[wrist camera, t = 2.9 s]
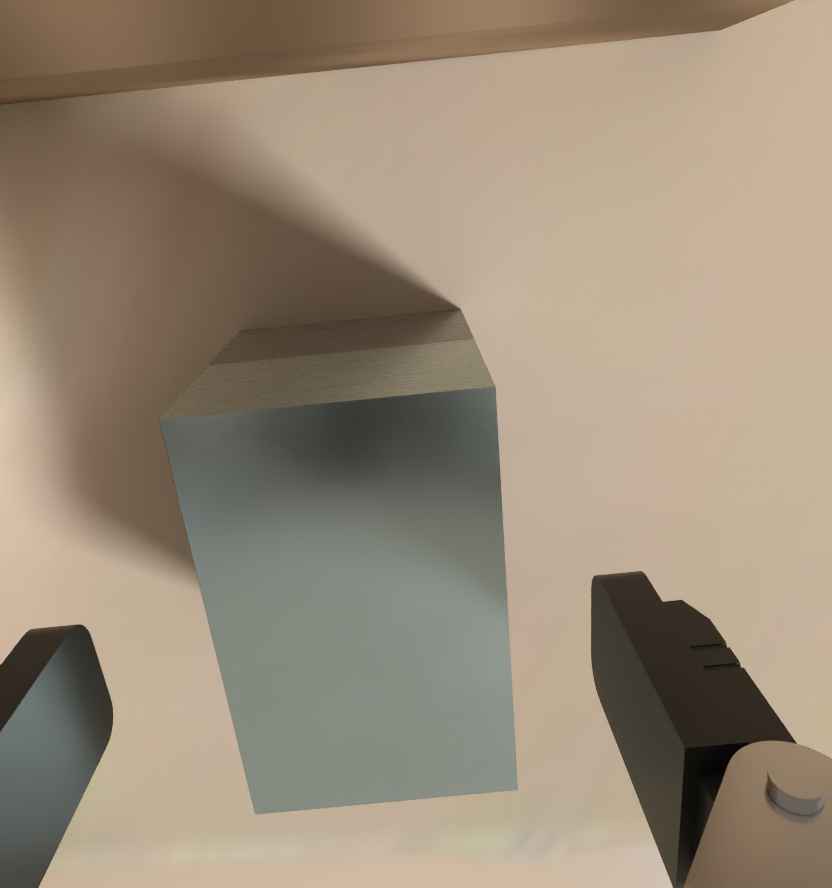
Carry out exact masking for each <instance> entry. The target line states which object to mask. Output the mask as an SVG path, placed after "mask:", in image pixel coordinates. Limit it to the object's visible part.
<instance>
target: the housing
mask: <svg viewBox="0 0 832 888" xmlns="http://www.w3.org/2000/svg"><path fill="white" fill-rule="evenodd" d="M159 422H160V426H161V430H162V434H163V438H164V442H165V446H166V451H167V455H168V459H169V463H170V467H171V471H172V475H173V479H174V483H175V487H176V492H177V496H178V500H179V504H180V508H181V512H182V516H183V520H184V524H185V528H186V533H187V537H188V541H189V545H190V549H191V553H192V557H193V561H194V565H195V569H196V574H197V578H198V582H199V586H200V590H201V594H202V598H203V602H204V606H205V610H206V615H207V619H208V623H209V627H210V631H211V635H212V639H213V643H214V647H215V652H216V656H217V660H218V664H219V668H220V672H221V676H222V680H223V684H224V688H225V693H226V697H227V701H228V705H229V709H230V713H231V717H232V721H233V725H234V729H235V734H236V738H237V742H238V746H239V750H240V754H241V758H242V762H243V766H244V770H245V775H246V779H247V783H248V787H249V791H250V795H251V799H252V803H253V807H254V811H255V814H265V813H276V812H287V811H297V810H308V809H319V808H329V807H340V806H351V805H361V804H372V803H383V802H393V801H404V800H415V799H425V798H436V797H447V796H458V795H468V794H479V793H490V792H500V791H511V790H518V787H517V769H516V750H515V732H514V714H513V696H512V678H511V660H510V642H509V624H508V606H507V588H506V570H505V552H504V534H503V516H502V497H501V479H500V461H499V443H498V425H497V407H496V389H495V384H494V382H493V380H492V378H491V376H490V373H489V371H488V369H487V367H486V364H485V362H484V360H483V358H482V355H481V353H480V351H479V349H478V347H477V344H476V342H475V340H474V338H473V335H472V333H471V331H470V329H469V326H468V324H467V322H466V320H465V317H464V315H463V313H462V311H461V309H458V310H448V311H438V312H428V313H418V314H408V315H398V316H388V317H378V318H368V319H358V320H348V321H338V322H328V323H318V324H307V325H297V326H287V327H277V328H267V329H257V330H247V331H240V332H239V333H238V334H237V335H236V336H235V337H234V338H233V339H232V340H231V342H230V343H229V344H228V345H227V346H226V347H225V348H224V349H223V350H222V351H221V352H220V354H219V355H218V356H217V357H216V358H215V359H214V360H213V361H212V362H211V363H210V364H209V366H208V367H207V368H206V369H205V370H204V371H203V372H202V373H201V374H200V375H199V376H198V378H197V379H196V380H195V381H194V382H193V383H192V384H191V385H190V386H189V387H188V388H187V390H186V391H185V392H184V393H183V394H182V395H181V396H180V397H179V398H178V399H177V401H176V402H175V403H174V404H173V405H172V406H171V407H170V408H169V409H168V410H167V411H166V413H165V414H164V415H163V416H162V417H161V418H160V419H159Z"/></svg>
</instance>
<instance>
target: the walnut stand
mask: <svg viewBox="0 0 832 888" xmlns="http://www.w3.org/2000/svg"><path fill="white" fill-rule="evenodd" d="M791 1H794V0H0V104H10V103H19V102H29V101H39V100H48V99H58V98H68V97H77V96H87V95H97V94H106V93H116V92H126V91H135V90H145V89H155V88H164V87H174V86H184V85H193V84H203V83H213V82H222V81H232V80H242V79H251V78H261V77H271V76H281V75H290V74H300V73H310V72H319V71H329V70H339V69H348V68H358V67H368V66H377V65H387V64H397V63H406V62H416V61H426V60H435V59H445V58H455V57H464V56H474V55H484V54H493V53H503V52H513V51H522V50H532V49H542V48H551V47H561V46H571V45H580V44H590V43H600V42H609V41H619V40H629V39H638V38H648V37H658V36H668V35H677V34H687V33H697V32H706V31H716V30H722V29H724V28H727V27H729V26H732V25H734V24H737V23H739V22H742V21H744V20H747V19H749V18H752V17H754V16H757V15H759V14H761V13H764V12H766V11H769V10H771V9H774V8H776V7H779V6H781V5H784V4H786V3H789V2H791Z"/></svg>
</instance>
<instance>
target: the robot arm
mask: <svg viewBox="0 0 832 888" xmlns="http://www.w3.org/2000/svg"><path fill="white" fill-rule="evenodd" d="M591 659H592V669H593V676H594V681H595V686H596V690H597V693H598V696H599V699H600V702H601V704H602V707H603V709H604V712H605V714H606V717H607V720H608V722H609V725H610V727H611V730H612V732H613V735H614V737H615V740H616V743H617V745H618V748H619V750H620V753H621V755H622V758H623V760H624V763H625V766H626V768H627V771H628V773H629V776H630V778H631V781H632V783H633V786H634V789H635V791H636V794H637V796H638V799H639V801H640V804H641V806H642V809H643V812H644V814H645V817H646V819H647V822H648V824H649V827H650V829H651V832H652V834H653V837H654V840H655V842H656V845H657V847H658V850H659V852H660V855H661V857H662V860H663V863H664V865H665V868H666V870H667V873H668V875H669V878H670V880H671V883H672V886H673V888H832V759H831V758H829V757H828V756H826V755H824V754H822V753H820V752H818V751H816V750H813V749H811V748H808V747H806V746H802V745H799V744H797V743H796V742H795V740H794V739H793V737H792V736H791V734H790V733H789V732H788V730H787V729H786V727H785V726H784V724H783V723H782V722H781V720H780V719H779V717H778V716H777V715H776V713H775V712H774V710H773V709H772V707H771V706H770V705H769V703H768V702H767V700H766V699H765V697H764V696H763V695H762V693H761V692H760V690H759V689H758V687H757V686H756V685H755V683H754V682H753V680H752V679H751V677H750V676H749V675H748V673H747V672H746V670H745V669H744V668H741V666H740V662H739V660H738V659H737V657H736V656H735V655H734V653H733V652H732V650H731V649H730V647H729V648H727V646H726V642H725V640H724V639H723V637H722V636H721V635H720V633H719V632H718V630H717V629H716V628H715V626H714V625H713V623H712V622H711V620H710V619H709V618H707V617H706V616H704V615H703V614H702V613H700V612H699V611H697V610H696V609H694V608H693V607H691V606H690V605H688V604H687V603H685V602H684V601H683V600H677V601H666V602H662V600H661V599H660V597H659V596H658V594H657V592H656V591H655V589H654V588H653V586H652V584H651V583H650V581H649V580H648V578H647V576H646V575H645V574H644V573H643V572H642V571H638V572H628V573H617V574H607V575H597V576H594V577H593V580H592V587H591ZM112 725H113V707H112V702H111V698H110V695H109V692H108V688H107V685H106V682H105V679H104V676H103V673H102V670H101V666H100V663H99V660H98V657H97V654H96V651H95V647H94V644H93V641H92V638H91V635H90V633H89V631H88V630H87V628H86V627H85V626H83V625H69V626H58V627H48V628H38V629H31V630H29V631H28V632H26V633H25V635H24V636H23V637H22V638H21V640H20V641H19V642H18V643H17V645H16V646H15V647H14V649H13V650H12V651H11V652H10V654H9V655H8V656H7V658H6V659H5V660H4V662H3V663H2V664H1V665H0V888H38V887H39V885H40V883H41V881H42V879H43V877H44V875H45V873H46V871H47V869H48V867H49V865H50V863H51V860H52V858H53V856H54V854H55V852H56V850H57V848H58V846H59V844H60V842H61V840H62V838H63V836H64V834H65V832H66V829H67V827H68V825H69V823H70V821H71V819H72V817H73V815H74V813H75V811H76V809H77V807H78V805H79V803H80V801H81V798H82V796H83V794H84V792H85V790H86V788H87V786H88V784H89V782H90V780H91V778H92V776H93V774H94V772H95V770H96V767H97V765H98V763H99V761H100V759H101V757H102V755H103V753H104V751H105V749H106V747H107V745H108V742H109V739H110V736H111V732H112Z"/></svg>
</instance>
